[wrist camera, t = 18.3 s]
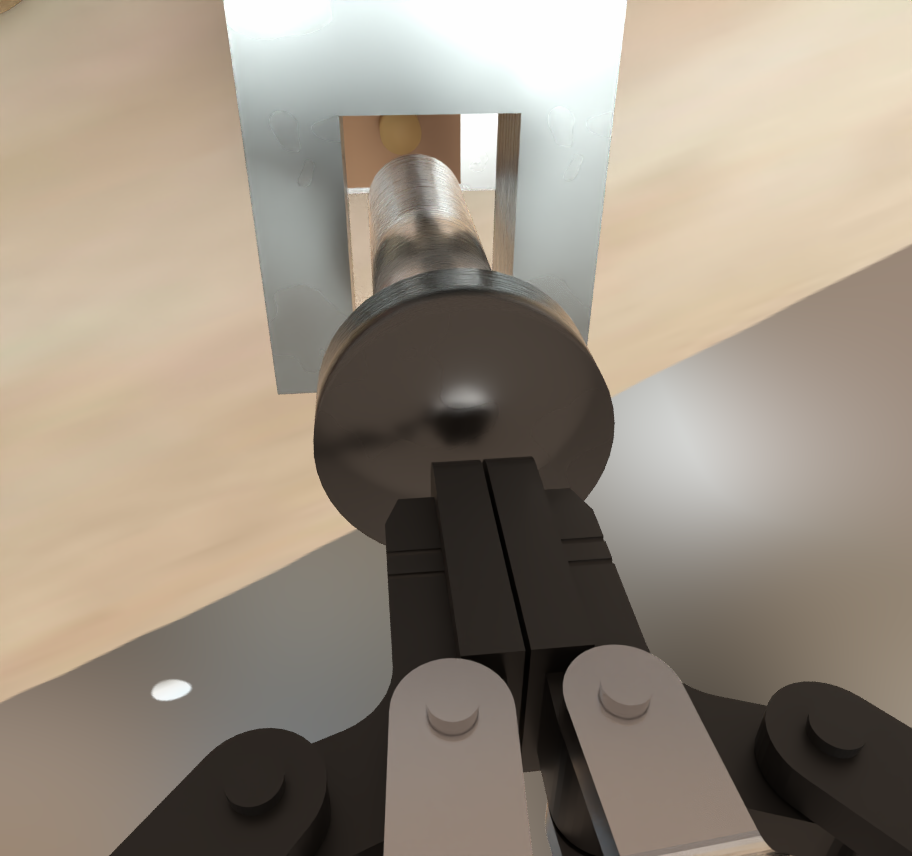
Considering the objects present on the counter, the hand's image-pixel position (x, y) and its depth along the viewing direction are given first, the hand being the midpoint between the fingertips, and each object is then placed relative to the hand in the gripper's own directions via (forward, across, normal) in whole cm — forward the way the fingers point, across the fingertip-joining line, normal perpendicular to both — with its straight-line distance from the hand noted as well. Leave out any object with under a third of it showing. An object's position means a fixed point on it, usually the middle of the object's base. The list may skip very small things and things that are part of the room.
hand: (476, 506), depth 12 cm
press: (+36, 0, -2) cm, 36 cm away
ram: (+14, 0, 0) cm, 14 cm away
